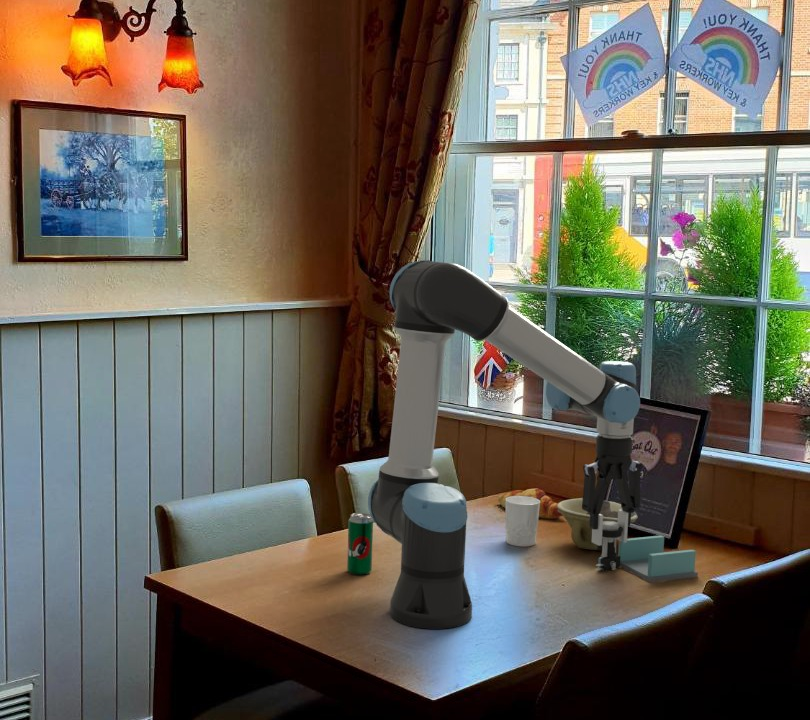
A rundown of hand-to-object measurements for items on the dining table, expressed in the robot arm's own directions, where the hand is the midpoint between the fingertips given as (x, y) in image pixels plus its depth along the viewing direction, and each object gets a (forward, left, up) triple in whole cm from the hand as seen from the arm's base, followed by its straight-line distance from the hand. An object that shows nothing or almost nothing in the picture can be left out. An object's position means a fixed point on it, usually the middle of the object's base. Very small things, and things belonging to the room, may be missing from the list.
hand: (609, 542), depth 225 cm
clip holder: (+10, -4, -6) cm, 12 cm away
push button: (0, 0, -6) cm, 6 cm away
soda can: (-51, +14, -6) cm, 54 cm away
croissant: (+7, +46, -6) cm, 47 cm away
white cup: (-8, +23, -6) cm, 25 cm away
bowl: (+7, +15, -6) cm, 18 cm away
